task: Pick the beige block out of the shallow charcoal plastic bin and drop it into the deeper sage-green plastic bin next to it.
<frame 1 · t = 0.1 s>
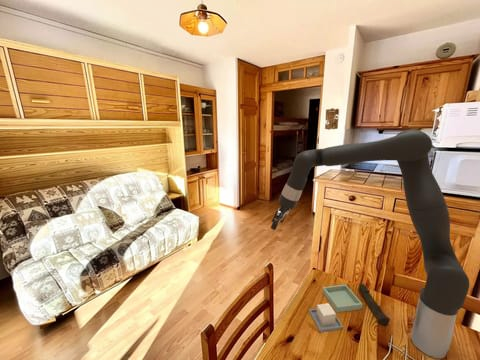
hand: (276, 225, 95), 31 cm above the table, tool tilted 20°, fingers open, 8 cm apart
beige block: (325, 319, 82), resting on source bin
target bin: (341, 300, 92), on the table
hand tool: (368, 306, 89), on the table
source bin: (325, 320, 83), on the table
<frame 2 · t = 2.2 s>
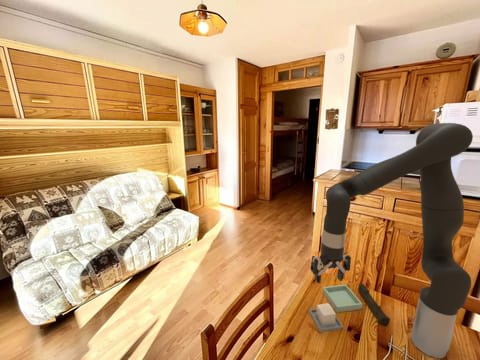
hand: (328, 280, 78), 18 cm above the table, tool pointing down, fingers open, 8 cm apart
nothing on the table moved.
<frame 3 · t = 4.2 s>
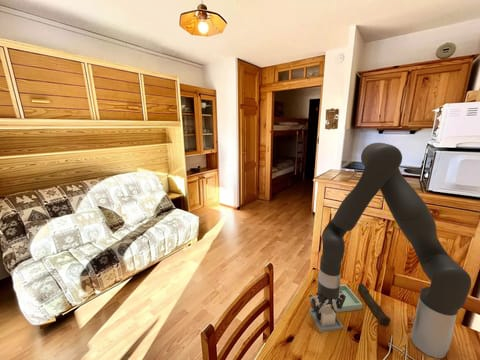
hand: (325, 317, 82), 2 cm above the table, tool pointing down, fingers closed on beige block, 5 cm apart
beige block: (325, 319, 82), resting on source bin, touching gripper
everything else where it was.
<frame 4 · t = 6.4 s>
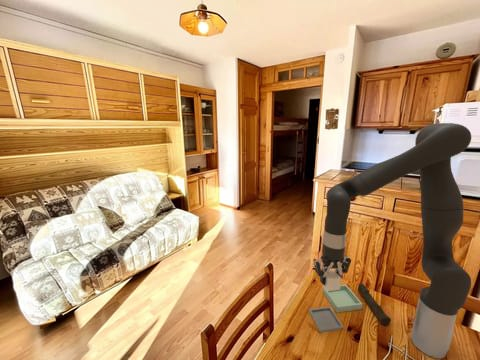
hand: (330, 282, 79), 17 cm above the table, tool pointing down, fingers closed on beige block, 5 cm apart
beige block: (329, 285, 79), point 16 cm above the table, touching gripper
everything else where it was.
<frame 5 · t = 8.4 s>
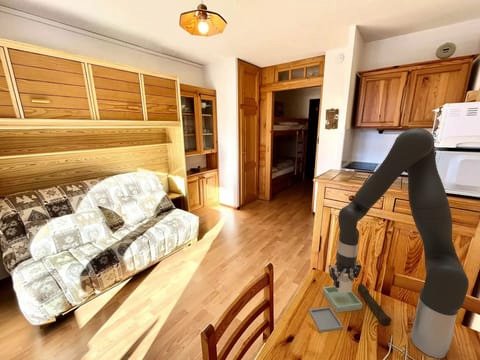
hand: (342, 286, 90), 8 cm above the table, tool pointing down, fingers closed on beige block, 5 cm apart
beige block: (342, 288, 90), point 6 cm above the table, touching gripper
everything else where it was.
when the fingers open (3 cm above the table, at t = 9.8 s): beige block drops 2 cm, resting on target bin.
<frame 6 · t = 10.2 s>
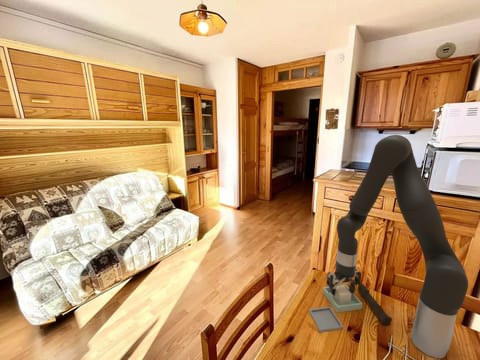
hand: (342, 293, 91), 4 cm above the table, tool pointing down, fingers open, 8 cm apart
beige block: (341, 299, 92), resting on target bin
everything else where it was.
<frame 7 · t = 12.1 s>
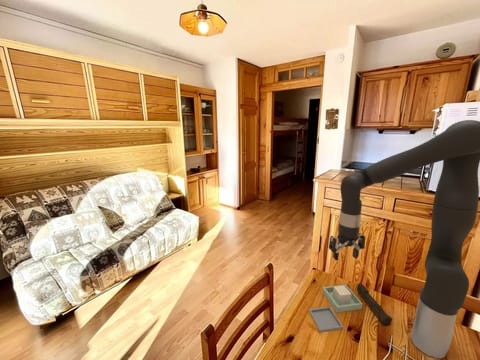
hand: (345, 258, 87), 21 cm above the table, tool pointing down, fingers open, 8 cm apart
nothing on the table moved.
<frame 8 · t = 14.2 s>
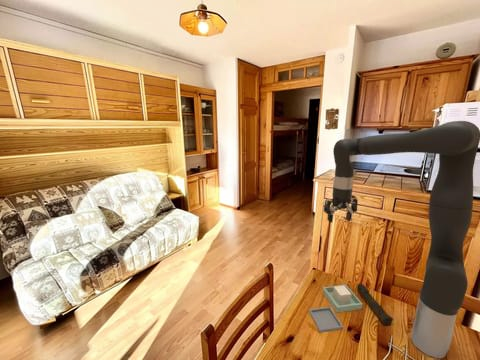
hand: (339, 221, 94), 33 cm above the table, tool pointing down, fingers open, 8 cm apart
nothing on the table moved.
at the end: beige block 0.1 cm off-centre on the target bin, point 0.5 cm above the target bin's base; the gripper is holding nothing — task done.
